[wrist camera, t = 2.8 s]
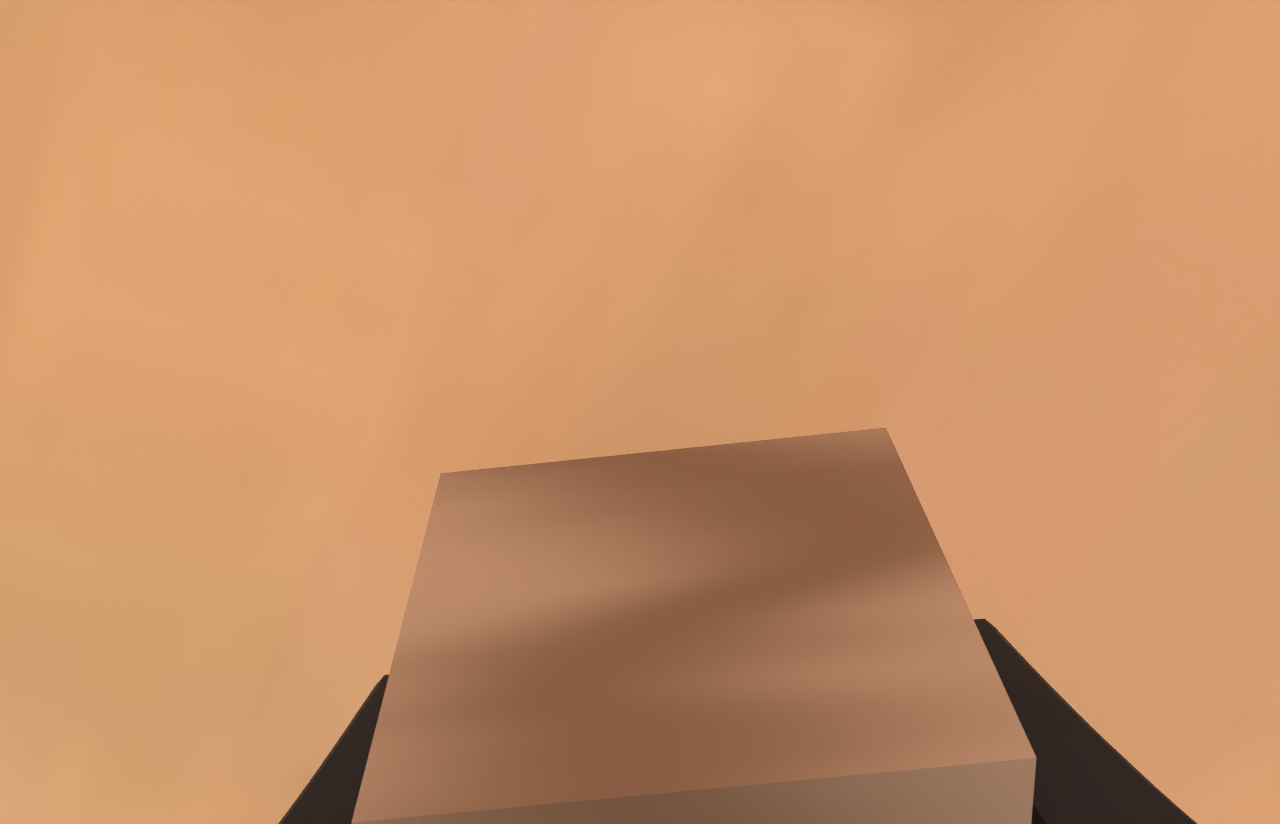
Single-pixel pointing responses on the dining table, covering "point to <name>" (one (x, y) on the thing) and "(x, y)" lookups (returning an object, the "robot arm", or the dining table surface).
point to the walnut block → (693, 650)
